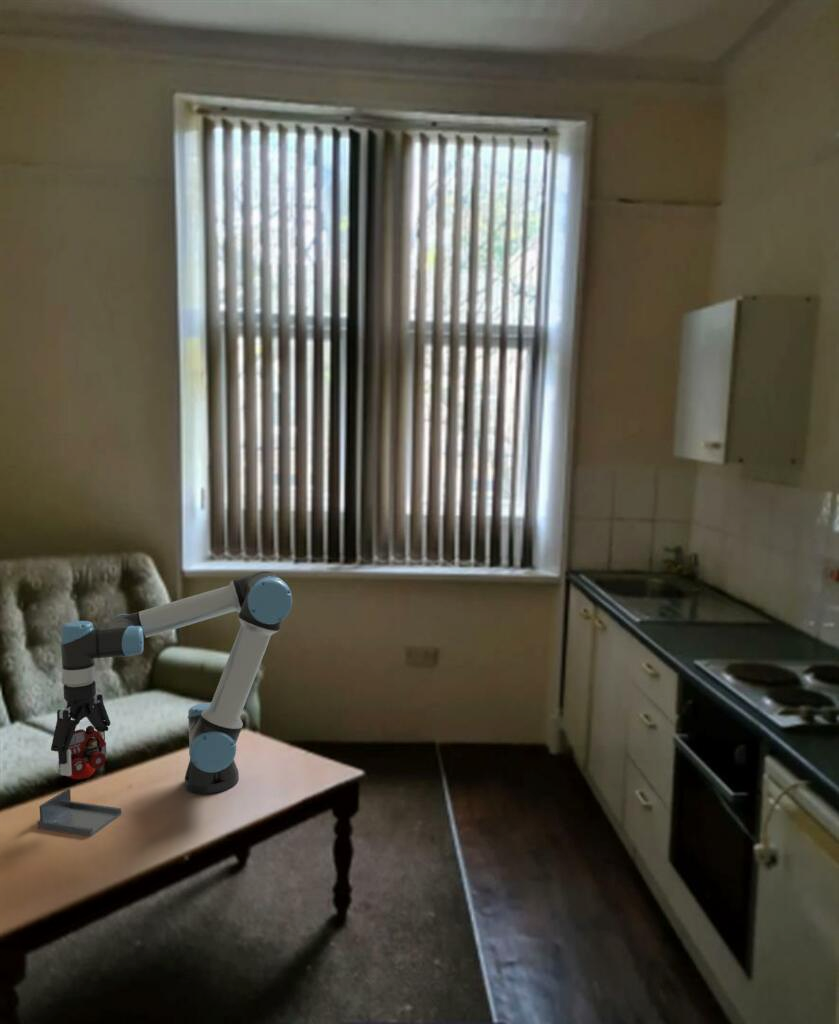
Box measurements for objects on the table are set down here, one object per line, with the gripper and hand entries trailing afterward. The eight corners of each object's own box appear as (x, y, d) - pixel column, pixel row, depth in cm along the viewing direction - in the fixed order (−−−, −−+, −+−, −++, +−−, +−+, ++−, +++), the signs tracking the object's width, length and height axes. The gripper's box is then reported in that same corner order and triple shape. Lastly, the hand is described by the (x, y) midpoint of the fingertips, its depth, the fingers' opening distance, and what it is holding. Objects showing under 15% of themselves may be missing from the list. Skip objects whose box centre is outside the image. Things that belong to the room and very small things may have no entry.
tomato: (76, 785, 216) (75, 760, 215) (58, 779, 221) (56, 754, 220) (105, 773, 224) (103, 749, 223) (86, 767, 229) (85, 743, 228)
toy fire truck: (113, 763, 196) (111, 725, 195) (65, 780, 186) (63, 739, 185) (99, 757, 200) (97, 719, 199) (52, 772, 190) (50, 733, 190)
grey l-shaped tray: (121, 814, 198) (120, 794, 198) (90, 836, 187) (89, 815, 187) (70, 807, 203) (69, 787, 202) (38, 828, 192) (36, 807, 191)
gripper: (99, 668, 204) (102, 745, 206) (31, 696, 181) (36, 783, 183) (122, 670, 202) (126, 748, 203) (57, 698, 179) (61, 786, 181)
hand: (83, 765), depth 193 cm, fingers closed on toy fire truck, 11 cm apart
